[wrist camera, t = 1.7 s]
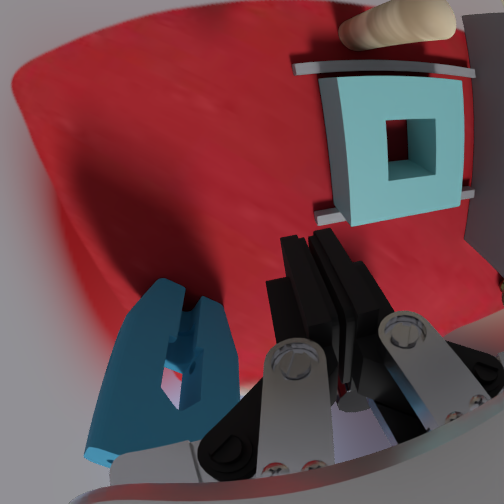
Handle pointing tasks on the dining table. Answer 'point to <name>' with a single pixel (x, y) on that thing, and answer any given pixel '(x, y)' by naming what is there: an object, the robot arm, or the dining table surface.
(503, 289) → the cup
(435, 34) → the dowel
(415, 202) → the socket block
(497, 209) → the backstop wall
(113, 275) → the dining table surface
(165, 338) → the block
